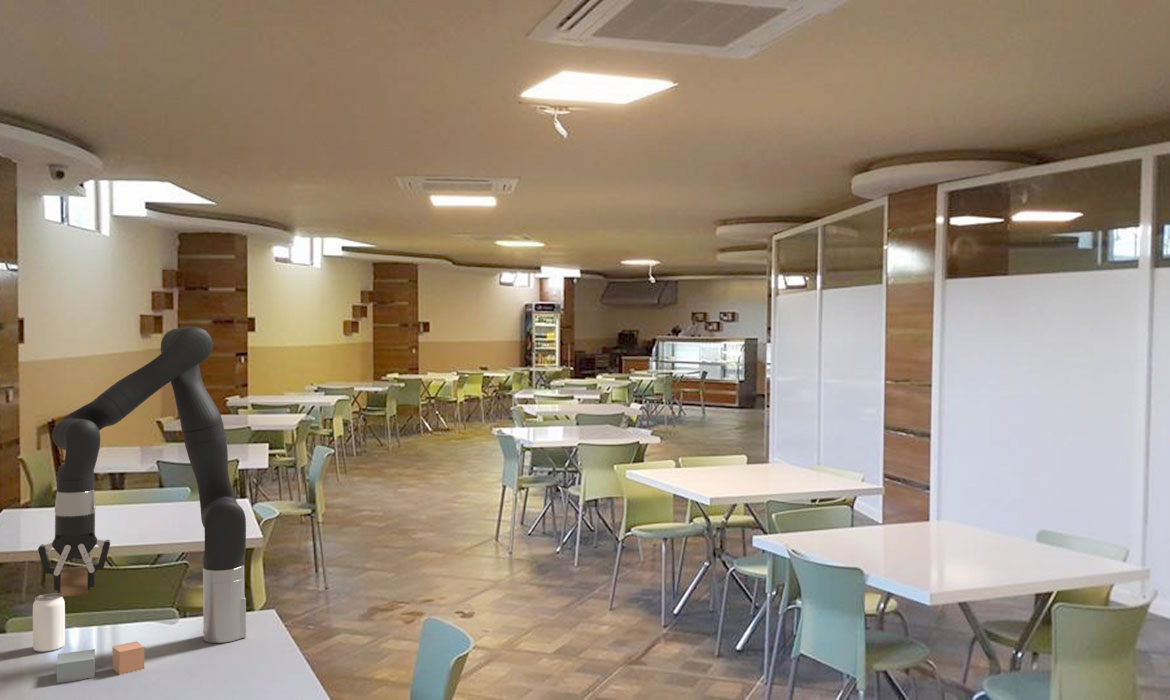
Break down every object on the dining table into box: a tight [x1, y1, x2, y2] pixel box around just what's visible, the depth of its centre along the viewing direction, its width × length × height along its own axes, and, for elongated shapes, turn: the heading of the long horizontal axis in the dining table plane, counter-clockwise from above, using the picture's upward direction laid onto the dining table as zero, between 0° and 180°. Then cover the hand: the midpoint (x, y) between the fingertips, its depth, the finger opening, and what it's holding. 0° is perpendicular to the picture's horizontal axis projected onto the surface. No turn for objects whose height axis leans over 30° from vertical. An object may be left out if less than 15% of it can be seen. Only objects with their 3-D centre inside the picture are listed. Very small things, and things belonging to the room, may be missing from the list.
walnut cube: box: [59, 565, 89, 598], centre depth 200 cm, size 5×5×5 cm
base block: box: [56, 648, 96, 684], centre depth 199 cm, size 7×7×4 cm
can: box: [32, 592, 66, 653], centre depth 216 cm, size 6×6×12 cm
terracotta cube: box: [112, 640, 145, 675], centre depth 203 cm, size 5×5×5 cm
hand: (74, 590), depth 200 cm, fingers closed on walnut cube, 5 cm apart
